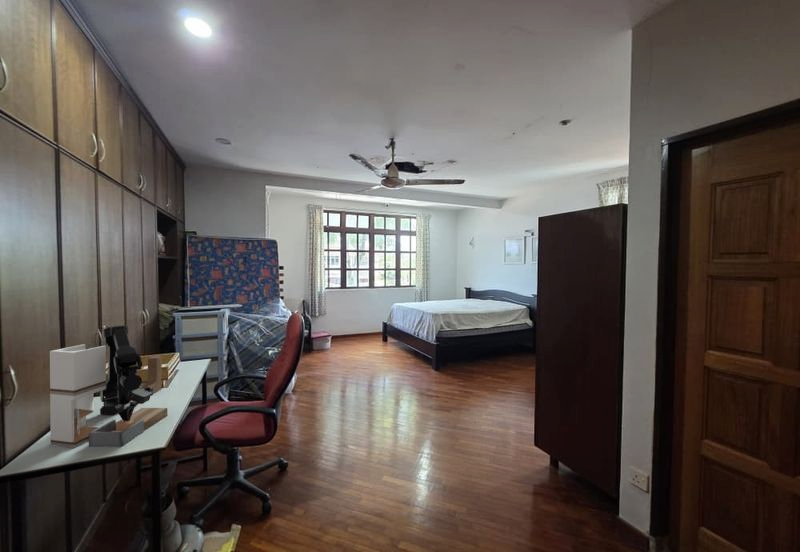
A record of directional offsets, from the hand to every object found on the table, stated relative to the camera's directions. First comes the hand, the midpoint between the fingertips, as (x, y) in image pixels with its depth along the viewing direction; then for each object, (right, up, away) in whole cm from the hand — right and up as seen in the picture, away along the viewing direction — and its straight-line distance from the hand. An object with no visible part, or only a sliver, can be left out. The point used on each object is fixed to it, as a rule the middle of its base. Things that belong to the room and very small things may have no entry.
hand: (127, 422), depth 136 cm
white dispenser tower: (-14, -4, -5) cm, 16 cm away
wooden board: (0, -4, +9) cm, 9 cm away
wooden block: (-22, -3, +44) cm, 49 cm away
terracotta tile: (+1, -1, -1) cm, 2 cm away
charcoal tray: (0, -4, -5) cm, 6 cm away
